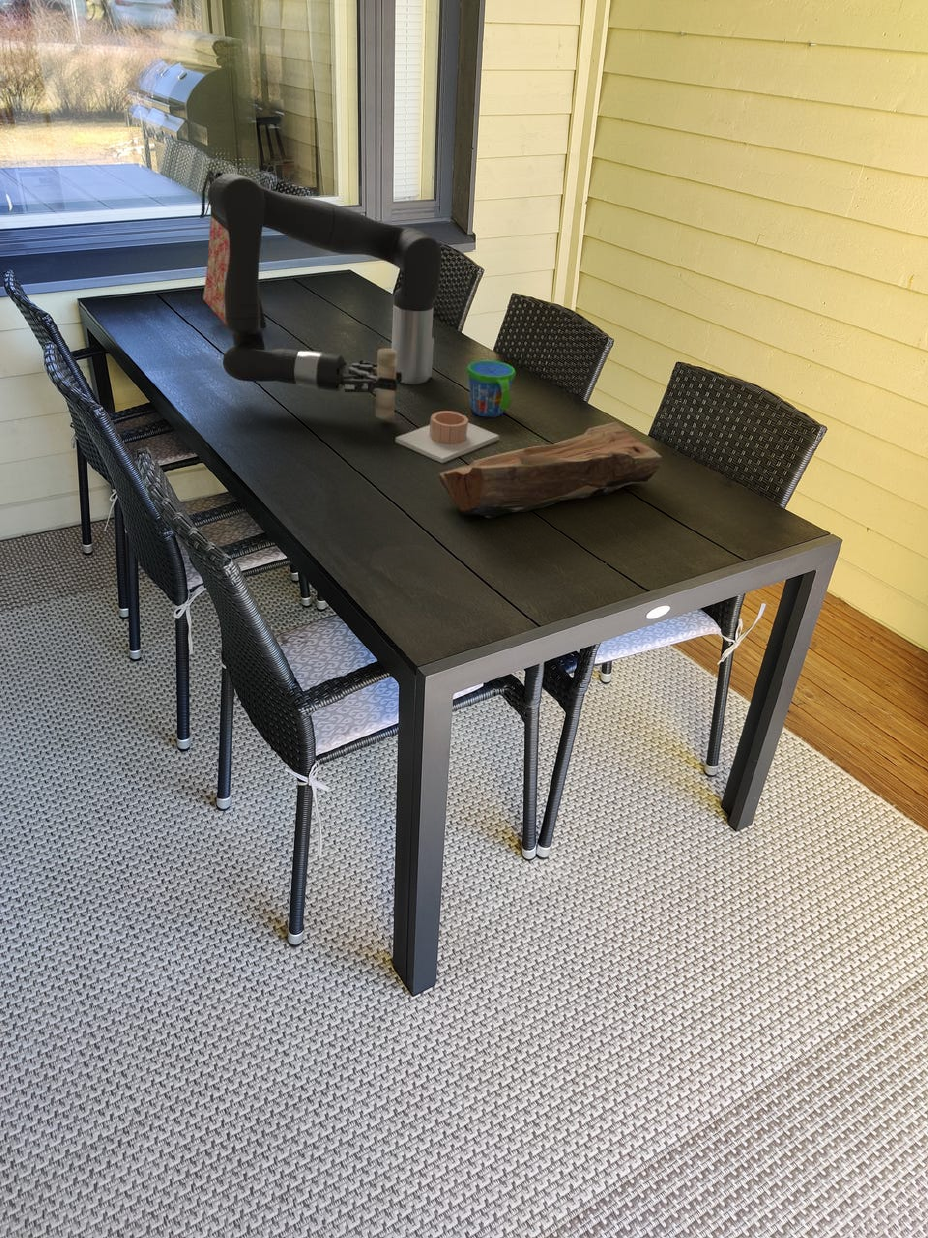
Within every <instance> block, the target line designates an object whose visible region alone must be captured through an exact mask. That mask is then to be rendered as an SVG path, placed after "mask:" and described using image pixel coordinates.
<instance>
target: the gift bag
mask: <svg viewBox="0 0 928 1238" xmlns="http://www.w3.org/2000/svg"><path fill="white" fill-rule="evenodd" d="M222 175H224V174H223V173H222V172H220V171H218V172H217V173H215V174H214V171H213V170H209V171H208V173H207V175H206V177H205V179H204V182H203V186H202V191H201V192H202V194H201V213H200V216H199V219H204V217H206V215H207V214H208V210H209V207H210V204H209V202H207V206H206V207H205V205H206V200H205V199H206V197H205V196H206V194H205V192H206V188H207V184H208V182H209V186H210V185H211V183H212V182H213V181H214V180H215V179H216V178H218V177H219V176H222ZM205 210H206V211H205ZM209 214H210V217H209V237H208V239H209V240H208V253H207V264H206V275H205V280H204V282H205V283H204V290H203V296H202V300H203V301H204V302H205V303H206V304H207V305H208V306H209V308H210V309H211V310H212V311H213V312H214V313H215V315H216V316H217V317H218V318H219V319H220V320H221V321H222V323H223V324H224V325H225V326H226V327H227V325H226V317H225V316H226V315H225V281H226V275H227V270H228V264H229V254H230V243H229V234H228V228H227V223H226V221H224V220H222V219H221V218H219V217H218V216H217V215H216V214H215V212H214V211H213V209H212V208H211V207H210V213H209ZM259 305H260V327H261V328H267V324H266V318H265V315H264V311H263V306H262V301H261V297H260V295H259Z"/></svg>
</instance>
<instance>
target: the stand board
mask: <svg viewBox="0 0 928 1238" xmlns="http://www.w3.org/2000/svg"><path fill="white" fill-rule="evenodd" d="M429 434H430V424H428V425H426V426H423V427H421V428H417V429H415V430H413V431H409V432H407V433H404V434H402V435H397V437H395V443H397V444H399V445H401V446H403V447H406V448H408V449H411V450H413V451H415V452H417V453H419V454H421V455H422V456H423V455H424V456H425V457H428V458H430V459H431V460H434V461H436V462H439V463H440V464H444V463H446V462H448V461H451V460H454V459H456V458H458V457H460V456H463V455H466V454H468V453H470V452H472V451H475V450H478V449H480V448H483V447H485V446H487V445H490V444H493V443H495V442H497V441H499V439H500V435H498V434H497V433H494V432H491V431H489V430H487V429H484V428H482V427H480V426H477V425H474V424H472V423H470V422H468V429H467V438H466V440H465V441H464V442H462V443H459V444H443V443H439V442H436V441H434V440H433V439H431V437H430V436H429Z"/></svg>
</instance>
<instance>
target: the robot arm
mask: <svg viewBox="0 0 928 1238" xmlns="http://www.w3.org/2000/svg"><path fill="white" fill-rule="evenodd" d="M207 200H208V203H209V207H210V209H211V208H212V209H213V211H214V212H215V214H216V215H217V216H218V217H219V218H221V219H222V220H224V221H226V223H227V228H228V234H229V243H230V254H229V264H228V270H227V275H226V281H225V315H226V316H225V317H226V325H227V326H226V325H225V326H226V327H227V329H228V330H229V331H230V332H232V333H231V334H232V340H233V347H230V348H229V349H228V350H227V351H226V352H225V353H224V355H223V359H222V367H223V368H224V371H225V372H226V373H227V375H229V376H230V377H231V378H233V379H235V380H237V381H242V382H250V383H251V382H252V383H253V382H254V383H263V382H266V383H267V382H278V383H283V384H290V385H296V386H297V385H298V386H302V387H304V388H305V387H306V388H310V389H319V390H323V391H324V390H325V391H333V392H340V391H341V390H342V388H343V386H344V393H374V391H376V390H378V389H386V390H394V391H395V392H396V391H397V390H398V384H400V383H401V384H406V385H419V384H423V383H426V382H428V381H429V380H430V378H431V377H432V376H433V366H434V365H433V364H434V363H433V362H434V349H435V348H434V347H435V338H434V337H433V323H434V307H435V300H436V298H437V295H438V293H439V289H440V288H439V287H440V279H441V271H442V250H441V247H440V244H439V243H438V241H437V240H436V239H435V238H433V237H432V236H430V235H429V234H427V233H425V232H423V231H421V230H419V229H416V228H412V227H407V226H399V225H395V224H389V223H384V222H381V221H377V220H375V219H372V218H370V217H368V216H366V215H364V214H361V213H359V212H357V211H355V210H351V209H349V208H346V207H343V206H340V205H337V204H333V203H332V202H331V203H330V202H328V201H324V200H319V199H316V198H311V197H306V196H300V195H293V194H287V193H283V192H282V193H281V192H278V191H276V190H273V189H272V190H271V188H267V187H265V186H262V185H259V184H258V183H257V182H256V181H255V180H254V179H252V178H250V177H247V176H245V175H241V174H237V173H226V174H225V173H224V174H223V175H222V176H219V177H218V178H216V179H215V180H214V181H213V182H212V183H211V185H210V184H209V187H208V191H207ZM263 228H265V229H268V230H269V229H270V230H273V231H275V232H277V233H280V234H281V235H285V236H286V237H288V238H291V239H293V240H295V241H299V242H300V243H303V244H305V245H308V246H311V247H314V248H317V249H320V250H323V251H327V252H332V253H335V254H339V255H341V254H342V255H350V256H351V255H353V256H354V255H355V256H356V255H362V256H363V255H365V256H370V257H374V258H377V259H378V260H382V261H383V262H386V263H388V264H391V265H392V266H395V267H397V268H398V269H400V270H401V271H402V272H403V273H402V281H401V287H400V288H396V290H395V292H394V294H393V313H392V333H391V334H392V335H391V336H392V337H391V349H393V350H395V351H397V363H396V379H389V378H382V377H380V379H379V377H377V362H374V361H371V360H367V359H364V358H363V359H362V358H361V359H359V360H358V362H353V363H347V362H346V361H345V357H344V356H343V355H342V354H338V353H337V354H336V353H331V352H330V353H327V352H323V351H314V350H298V349H288V348H274V349H272V350H266V347H265V342H264V337H263V333H262V332H263V331H262V327H260V305H259V296H260V284H259V283H260V255H261V245H262V243H261V242H262V234H263V233H262V232H263Z"/></svg>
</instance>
